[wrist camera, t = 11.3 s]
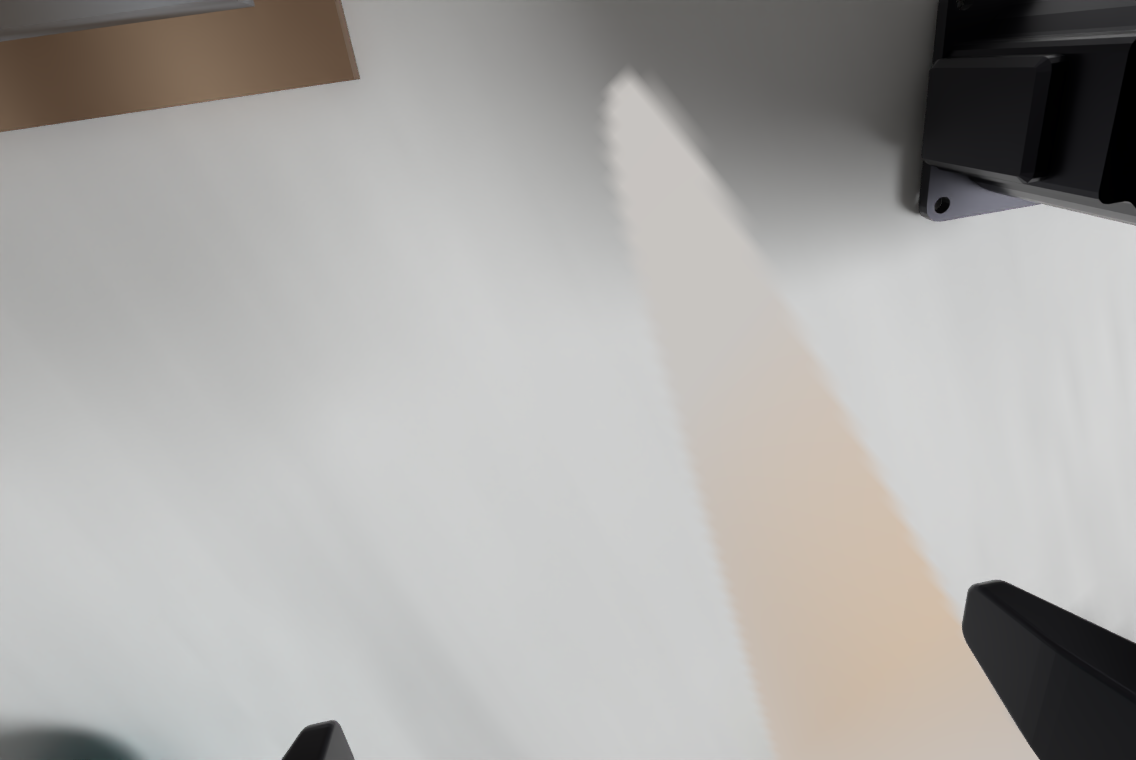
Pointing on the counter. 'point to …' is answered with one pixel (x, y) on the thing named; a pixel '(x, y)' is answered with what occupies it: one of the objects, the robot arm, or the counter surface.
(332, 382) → the counter surface
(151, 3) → the socket holder
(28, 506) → the counter surface
